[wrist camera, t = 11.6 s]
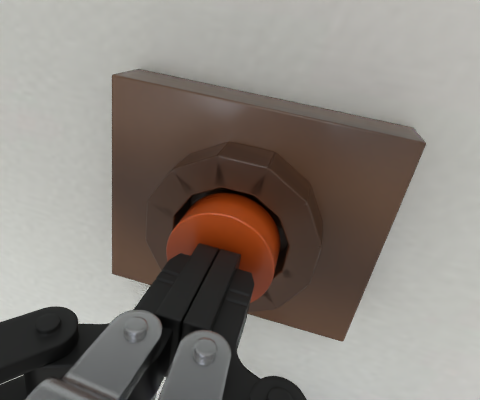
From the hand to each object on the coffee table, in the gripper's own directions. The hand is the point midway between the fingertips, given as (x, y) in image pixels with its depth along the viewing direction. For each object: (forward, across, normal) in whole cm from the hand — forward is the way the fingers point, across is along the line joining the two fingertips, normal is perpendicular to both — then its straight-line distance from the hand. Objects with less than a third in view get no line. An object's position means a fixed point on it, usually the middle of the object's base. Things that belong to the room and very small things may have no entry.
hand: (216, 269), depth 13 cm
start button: (+2, 0, 0) cm, 2 cm away
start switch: (+6, 0, 0) cm, 6 cm away
